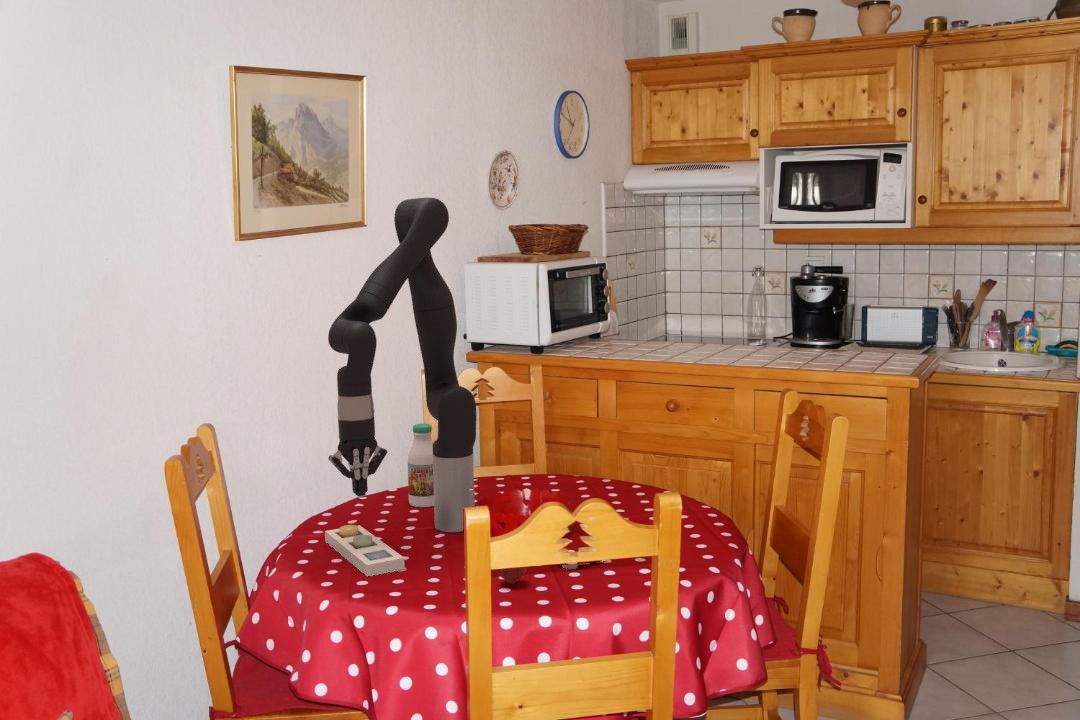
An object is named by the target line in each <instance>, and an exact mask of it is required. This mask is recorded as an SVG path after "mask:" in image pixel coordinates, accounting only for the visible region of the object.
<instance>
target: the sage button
mask: <svg viewBox="0 0 1080 720" xmlns="http://www.w3.org/2000/svg"><path fill="white" fill-rule="evenodd" d="M371 546H373V544H372V536H369V535H360V536H356V537H354V538H353V547H354V548H355V549H360V548H365V547H371Z"/></svg>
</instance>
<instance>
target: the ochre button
mask: <svg viewBox="0 0 1080 720" xmlns="http://www.w3.org/2000/svg"><path fill="white" fill-rule="evenodd" d="M339 529H340V537H341V538H347V537H353V536H359V533H358V525H355V524H346V525H342V526H340V527H339Z"/></svg>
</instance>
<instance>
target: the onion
mask: <svg viewBox="0 0 1080 720" xmlns="http://www.w3.org/2000/svg"><path fill="white" fill-rule="evenodd" d="M527 568H528V567H527ZM527 568H515V569H505V570H498V569H497V573H498V575H499V577H501V579H503V580H504V581H505V582H507V583H509V584H511V585H514V584H516V583H517V582H518V581H519V580H520V579H522V578H523V576H525V574H526V571H527Z"/></svg>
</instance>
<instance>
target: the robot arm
mask: <svg viewBox="0 0 1080 720" xmlns="http://www.w3.org/2000/svg"><path fill="white" fill-rule="evenodd" d="M393 218H394V227H395V233H396V236H397V240H398V244H399V245H398V246H397V247H396V248H395V250H393V251H392V252H391V253H390V254H389V255H388V256H387V257H386V258H385V259H384V260H383V261H382V262H381V263H380V264H378V265H377V267H376V268H375V269H374V270H373V271H372V272H371V273H370V275H369V276H368V278H367V279H366V281H365V282H364V284H363V285H362V287H361V289H360V291H359V293H358V294H357V296H356V297H355V299H354V300H353V301H352V302H351V303H350V304H349V305H347V306H346V307H345V309H344V310H342V312H341V313H340V314H339V315H338V316H337V318H335V320H334V321H333V322H332V324H331V325H330V328H329V330H328V335H327V337H328V345H329V347H330V348H331V349H332V350H333V351H335V352H336V353H339V354H345V355H347V356H348V357H347V360H346V361H347V363H346V365H343V366H341V367H340V368H338V370H337V374H336V379H337V380H336V382H337V384H336V385H337V403H336V404H337V406H336V407H337V423H338V424H337V425H338V439H339V443H338V445H337V451H336V452H335V453H333V455H331V454H330V455H329V456H328V461H329V462H330V463H331V464H332V465H333V466H334V467H335V469H337V470H338V472H339V473H341V475H342V476H344V477H346V478H348V479H351V482H352V483H351V485H352V493H353V494H355V496H356V497H363V496H366V493H368V488H369V487H368V477H369V476H371V475H375V473H376V472H377V470H378V469H379V467H380V466H381V463H382V462H383V461H384V459H385V457H386V455H387V454H388V450H387V449H386V448H384V447H381V446H379V445H378V441H377V439H376V426H375V423H376V422H375V407H374V405H375V404H374V399H373V391H372V388H373V387H372V386H373V385H372V376H371V375H372V370H373V367H374V362H375V357H376V350H377V343H378V342H377V335H376V331H375V330H374V328H373V326H372V325H370V324H371V323H373V322H376V321H379V320H382V319H383V318H384V317H385V315H387V312H388V311H389V309H390V307H391V305H393V303H394V300H395V299H396V297H397V295H398V294H399V292H400V290H401V289H402V287H403V286H404V285H405V283H406V281H407V280H408V286H409V291H410V296H411V303H412V309H413V310H412V311H413V312H412V313H413V317H414V323H415V328H416V332H417V338H418V343H419V344H418V345H419V350H420V355H421V358H422V363H423V370H424V371H423V373H424V384H425V402H426V407H427V409H428V413H429V414H430V415H431V416H432V418H433V419H434V420H436V421H437V438H436V440H434V441H433V480H434V506H433V507H434V509H433V511H434V528H435V529H436V530H437V531H439V532H444V533H461V531H462V532H464V531H463V509H464V508H465V507H472V506H475V505H476V504H475V478H474V475H475V473H474V471H475V470H474V469H475V468H474V447H475V446H474V445H475V442H476V440H477V403H476V398H475V397H474V394H473V393H472V392H471V391H470V390H469V389H468V388H466V387H463V386H461V385H460V384H459V381H458V376H457V371H456V366H455V359H454V354H455V346H456V340H457V334H458V320H457V313H456V307H455V302H454V301H455V300H454V296H453V294H452V291H451V290H450V287H449V286H448V284H447V282H446V280H445V278H444V277H443V276H442V274H441V272H440V271H439V269H438V268H437V266H436V264H435V261H434V259H433V256H432V251H431V250H432V248H433V247H434V246H435V244H437V242H438V241H439V240H440V238H441V237H442V236H443V235H444V233H445V232H446V230H447V228H448V226H449V221H450V215H449V210H448V207H447V206H446V204H445V203H444V202H443V201H442V200H440V199H439V198H435V197H418V198H408V199H405V200H402V201H401V202H400V203H399V204H397V206H396V209H395V212H394V217H393ZM342 457H343V458H344V459H345V461H346V462H347V463H348V468H349V469H348V468H347V466H346V465H344V464H343V458H342ZM475 507H476V506H475Z"/></svg>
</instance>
